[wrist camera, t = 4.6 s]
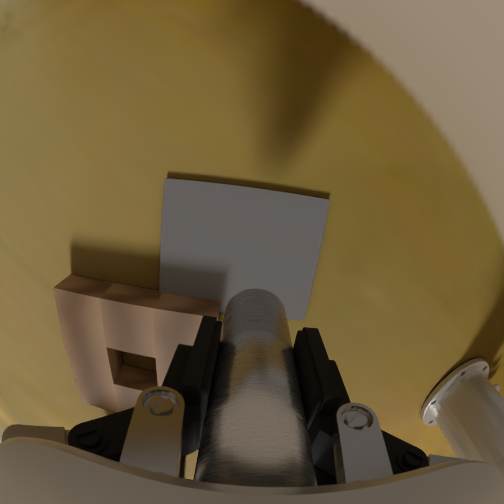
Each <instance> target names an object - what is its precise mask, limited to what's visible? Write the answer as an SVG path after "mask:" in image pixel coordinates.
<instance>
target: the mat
mask: <svg viewBox="0 0 504 504" xmlns="http://www.w3.org/2000/svg"><path fill="white" fill-rule="evenodd" d="M329 202H330V200H329V199H324V198H318V197H313V196H307V195H301V194H295V193H288V192H282V191H275V190H268V189H261V188H254V187H246V186H238V185H230V184H222V183H213V182H204V181H194V180H183V179H172V178H165V185H164V196H163V209H162V224H161V243H160V278H159V292H160V293H166V294H173V295H180V296H187V297H194V298H201V299H209V300H217V301H220V311H219V312H225V310H226V306H227V304H228V302H229V301H230V300H231V298H232V297H233V296H235V295H236V294H238V293H239V292H241V291H244V290H247V289H263V290H267V291H269V292H271V293H273V294H275V295H276V296H277V297H278V298H279V299H280V300H281V302H282V303H283V305H284V308H285V312H286V317H287V319H295V320H304V318H305V314H306V310H307V306H308V302H309V298H310V293H311V289H312V285H313V281H314V276H315V272H316V267H317V263H318V258H319V253H320V249H321V244H322V239H323V234H324V229H325V224H326V219H327V213H328V208H329Z"/></svg>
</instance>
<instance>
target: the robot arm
mask: <svg viewBox="0 0 504 504" xmlns="http://www.w3.org/2000/svg"><path fill="white" fill-rule="evenodd" d="M221 328H222V322H221V321H217V317H212V316H205V315H203V317H202V320H201V323H200V326H199V329H198V332H197V335H196V338H195V341H194V344H193V346H190V345H184V344H178V346H177V348H176V351H175V353H174V356H173V358H172V361H171V363H170V366H169V368H168V371H167V373H166V376H165V378H164V381H163V383H162V386H155V387H150V388H148V389H145V390H144V391H143V392H141V393H140V395H139V396H138V398H137V402H136V405H135V407H133V408H130V409H127V410H123V411H120V412H117V413H114V414H111V415H108V416H104V417H101V418H98V419H94V420H91V421H87V422H83V423H80V424H78V425H76V426H75V427H73V428H72V429H71V430H65V428H64V427H48V426H32V425H20V424H16V425H11V426H9V427H7V428H6V429H5V430H4V432H3V435H2V443H0V504H504V398H503V397H502V395H501V394H500V393H499V392H498V390H499V384H494V385H492V384H491V382H490V381H489V380H488V379H487V378H488V375H489V364H488V363H487V362H486V361H485V360H484V359H482V358H476V359H472V360H470V361H467V362H466V363H464V364H462V365H461V366H459V367H458V368H456V369H455V370H454V371H453V372H451V373H450V374H449V375H448V376H447V377H446V378H445V379H443V380H442V381H441V382H440V384H439V385H438V386H437V387H436V388H435V389H434V390H433V392H432V393H431V394H430V395H429V397H428V398H427V400H426V402H425V403H424V405H423V408H422V411H421V418H422V420H423V422H424V423H425V424H426V425H429V426H434V425H438V426H439V427H440V429H441V431H442V432H443V434H444V436H445V437H446V439H447V441H448V443H449V444H450V446H451V448H452V450H453V451H454V453H455V455H456V457H457V458H453V457H446V456H439V455H432V454H430V455H429V456H428V457H427V456H426V454H425V453H424V452H423V451H422V450H421V449H419V448H417V447H415V446H413V445H411V444H409V443H407V442H405V441H403V440H401V439H399V438H397V437H395V436H393V435H391V434H389V433H387V432H385V431H383V430H381V428H380V425H379V422H378V418H377V416H376V414H375V412H374V411H373V410H372V409H371V408H369V407H367V406H366V405H363V404H360V403H351V402H350V399H349V397H348V394H347V391H346V389H345V386H344V383H343V380H342V378H341V375H340V372H339V370H338V367H337V365H336V362H335V361H334V360H329V358H328V355H327V352H326V349H325V347H324V344H323V341H322V339H321V336H320V333H319V330H318V329H317V328H306V327H304V328H303V329H302V331H300V330H299V331H298V332H297V335H296V339H295V343H294V347H293V352H294V357H295V363H296V368H297V373H298V378H299V384H300V389H301V395H302V400H303V406H304V411H305V417H306V422H307V428H308V434H309V440H310V445H311V451H312V457H313V463H314V469H315V475H316V482H317V486H310V487H251V486H237V485H226V484H217V483H209V482H202V481H196V480H190V479H185V472H186V458H187V455H188V454H190V453H192V452H195V451H196V449H197V450H199V444H200V440H201V435H202V429H203V424H204V418H205V416H206V413H207V409H208V404H209V398H210V393H211V387H212V382H213V377H214V371H215V366H216V360H217V355H218V350H219V345H220V337H221Z"/></svg>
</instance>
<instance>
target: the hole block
mask: <svg viewBox="0 0 504 504" xmlns="http://www.w3.org/2000/svg"><path fill="white" fill-rule="evenodd" d="M54 294H55V300H56V306H57V311H58V316H59V321H60V326H61V330H62V334H63V339H64V343H65V347H66V350H67V354H68V358H69V361H70V365H71V368H72V371H73V374H74V378H75V381H76V384H77V387H78V390H79V393H80V395H81V398H82V401H83V402H84V403H87V404H90V405H93V406H96V407H99V408H103V409H106V410H109V411H113V412H116V413H117V412H120V411H123V410H127V409H130V408H133V407H135V405H136V402H137V398H138V396H139V395H140V393H141V392H143V391H144V390H145V389H148V388H150V387H155V386H162V383H163V381H164V378H165V376H166V373H167V371H168V368H169V366H170V363H171V361H172V358H173V356H174V353H175V351H176V348H177V346H178V344H184V345H190V346H193V344H194V341H195V338H196V335H197V332H198V329H199V326H200V323H201V320H202V317H203V315H205V316H212V317H217V321H219V311H220V301H217V300H209V299H201V298H194V297H187V296H180V295H173V294H166V293H160V292H159V290H155V289H149V288H143V287H137V286H131V285H125V284H119V283H114V282H108V281H102V280H97V279H92V278H87V277H82V276H76V275H72V274H71V275H69V276H68V277H67V278H65V279H64V280H63V281H61V282H60V283H59V284H58V285H56V286H55V287H54ZM122 351H124V352H129V353H133V354H138V355H143V356H148V357H153V358H156V370H157V372H155V371H150V370H145V369H140V368H135V367H131V366H127V365H124V364H123V358H122Z"/></svg>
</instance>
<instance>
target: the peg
mask: <svg viewBox="0 0 504 504" xmlns="http://www.w3.org/2000/svg"><path fill="white" fill-rule="evenodd" d="M194 480H196V481H202V482H209V483H217V484H226V485H237V486H251V487H310V486H317V482H316V475H315V469H314V463H313V457H312V451H311V445H310V440H309V434H308V428H307V422H306V417H305V411H304V406H303V400H302V395H301V389H300V384H299V378H298V373H297V368H296V363H295V357H294V352H293V347H292V342H291V337H290V332H289V327H288V322H287V317H286V312H285V308H284V305H283V303H282V302H281V300H280V299H279V298H278V297H277V296H276V295H275V294H273V293H271V292H269V291H267V290H263V289H247V290H244V291H241V292H239V293H238V294H236V295H235V296H233V297H232V298H231V300H230V301H229V302H228V304H227V306H226V310H225V315H224V320H223V325H222V330H221V337H220V345H219V350H218V355H217V360H216V366H215V371H214V377H213V382H212V387H211V393H210V398H209V404H208V409H207V413H206V416H205V418H204V424H203V429H202V435H201V440H200V446H199V452H198V457H197V463H196V469H195V474H194Z"/></svg>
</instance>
